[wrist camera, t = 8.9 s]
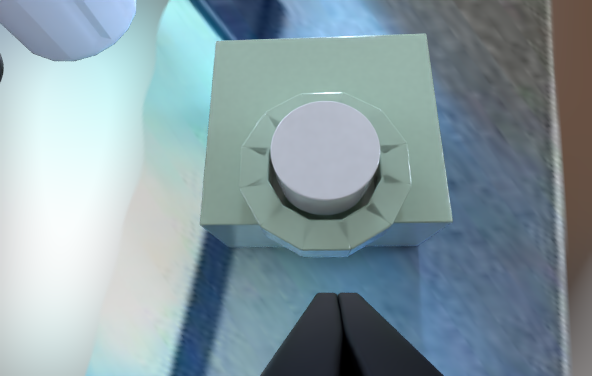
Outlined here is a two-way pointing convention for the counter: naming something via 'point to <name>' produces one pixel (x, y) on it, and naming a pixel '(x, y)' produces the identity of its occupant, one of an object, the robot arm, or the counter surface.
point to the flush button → (325, 157)
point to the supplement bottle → (1, 68)
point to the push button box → (311, 88)
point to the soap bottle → (67, 25)
